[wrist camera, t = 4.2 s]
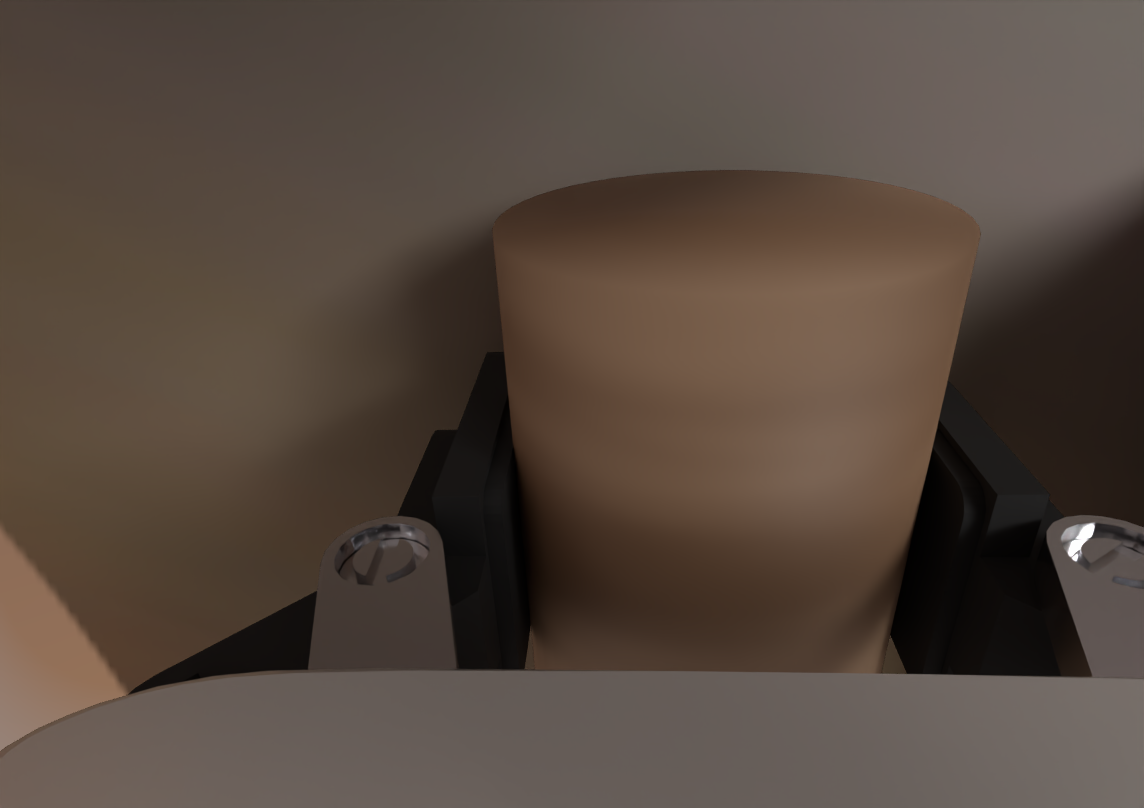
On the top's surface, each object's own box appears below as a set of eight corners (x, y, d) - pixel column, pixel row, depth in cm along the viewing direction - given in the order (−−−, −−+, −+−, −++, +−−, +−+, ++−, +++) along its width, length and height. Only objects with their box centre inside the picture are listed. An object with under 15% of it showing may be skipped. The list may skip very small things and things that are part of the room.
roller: (524, 176, 10) (443, 299, 6) (888, 165, 10) (1092, 288, 5) (556, 598, 14) (520, 864, 10) (818, 603, 14) (906, 884, 9)
